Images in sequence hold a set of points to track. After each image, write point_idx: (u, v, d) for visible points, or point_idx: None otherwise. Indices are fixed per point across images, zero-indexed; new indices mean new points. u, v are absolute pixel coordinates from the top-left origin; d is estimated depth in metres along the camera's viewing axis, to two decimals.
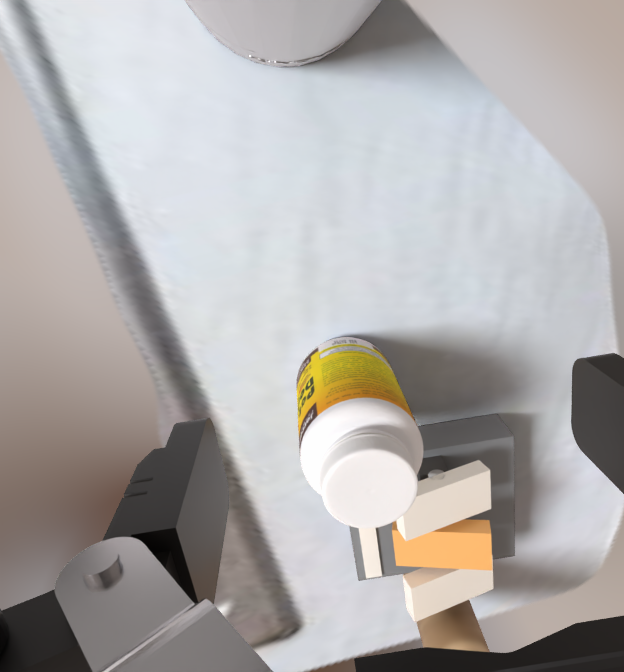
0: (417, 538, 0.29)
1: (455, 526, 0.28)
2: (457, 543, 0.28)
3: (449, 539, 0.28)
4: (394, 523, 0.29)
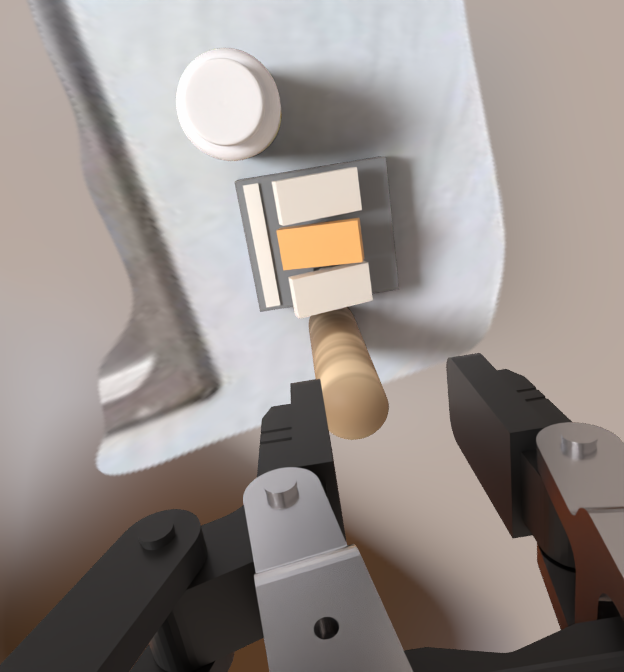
0: (298, 236, 0.33)
1: (329, 222, 0.33)
2: (331, 236, 0.32)
3: (324, 232, 0.32)
4: (280, 228, 0.33)
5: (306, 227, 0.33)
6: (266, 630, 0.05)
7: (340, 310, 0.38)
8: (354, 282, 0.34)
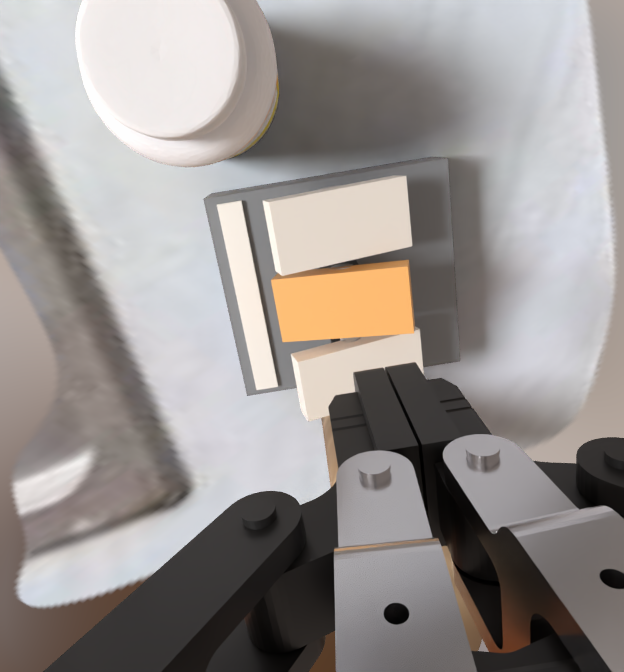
0: (306, 289, 0.20)
1: (359, 268, 0.20)
2: (362, 291, 0.19)
3: (350, 285, 0.19)
4: (277, 275, 0.20)
5: (320, 276, 0.20)
6: (337, 603, 0.05)
7: None
8: (397, 360, 0.21)
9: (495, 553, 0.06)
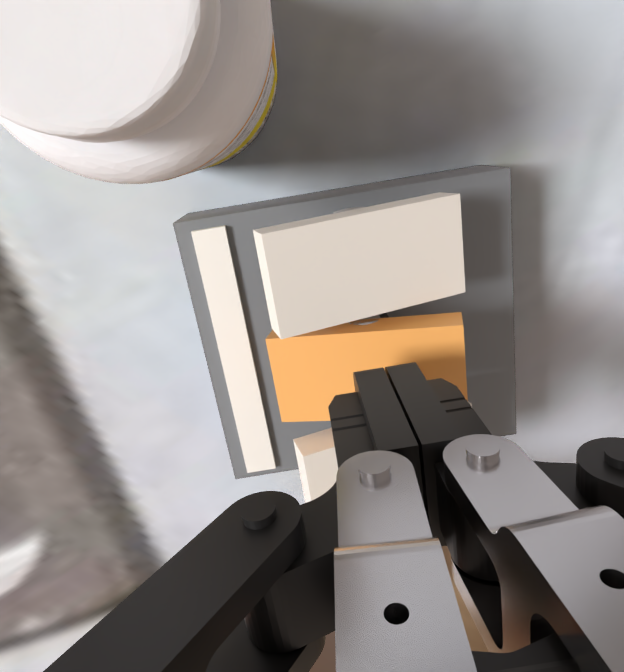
0: (315, 353, 0.14)
1: (391, 324, 0.14)
2: (395, 358, 0.14)
3: (378, 349, 0.14)
4: None
5: (336, 335, 0.14)
6: (337, 603, 0.05)
7: None
8: None
9: (495, 553, 0.06)
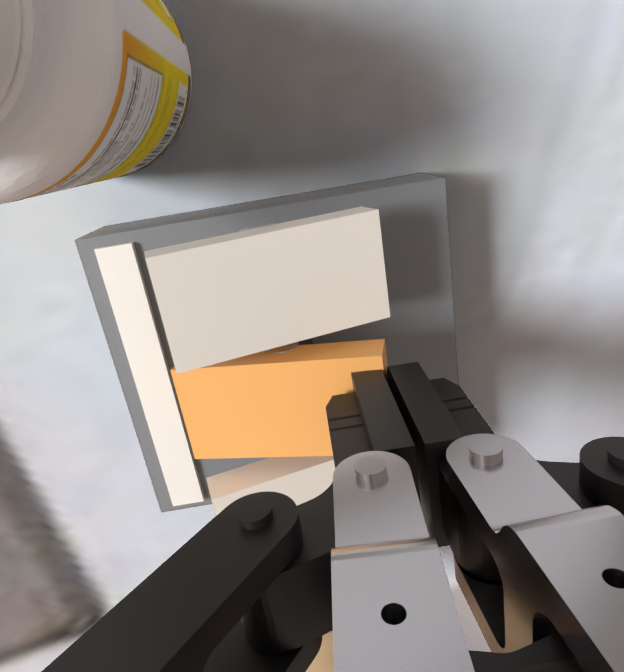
0: (225, 385, 0.13)
1: (307, 353, 0.12)
2: (311, 391, 0.12)
3: (292, 381, 0.12)
4: None
5: (246, 366, 0.12)
6: (335, 604, 0.05)
7: None
8: None
9: (498, 552, 0.07)
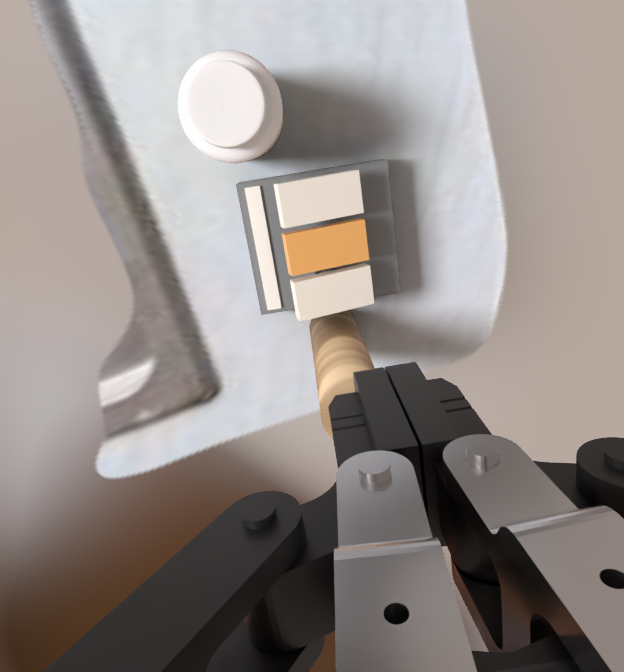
0: (307, 239, 0.32)
1: (335, 223, 0.33)
2: (340, 237, 0.33)
3: (333, 233, 0.32)
4: (284, 233, 0.32)
5: (315, 229, 0.32)
6: (337, 603, 0.05)
7: (341, 313, 0.38)
8: (356, 285, 0.34)
9: (495, 553, 0.06)
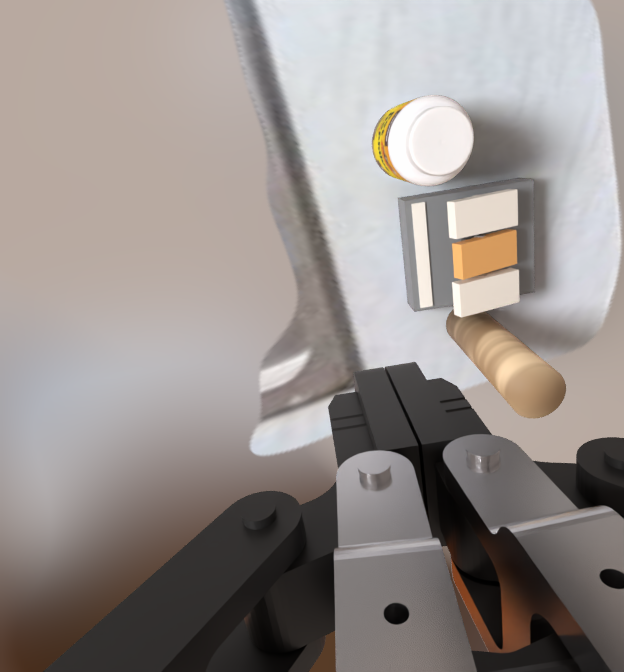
0: (476, 247, 0.38)
1: (493, 234, 0.39)
2: (498, 245, 0.39)
3: (494, 242, 0.39)
4: (457, 243, 0.38)
5: (482, 239, 0.38)
6: (337, 603, 0.05)
7: None
8: (506, 286, 0.40)
9: (495, 553, 0.06)
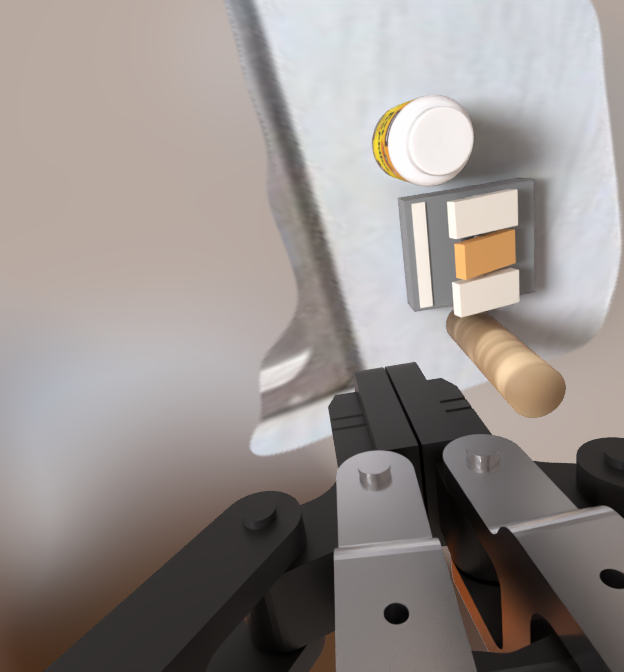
0: (478, 247, 0.38)
1: (493, 234, 0.39)
2: (498, 245, 0.39)
3: (495, 242, 0.39)
4: (460, 243, 0.38)
5: (484, 239, 0.38)
6: (338, 603, 0.05)
7: None
8: (506, 286, 0.40)
9: (495, 553, 0.06)
